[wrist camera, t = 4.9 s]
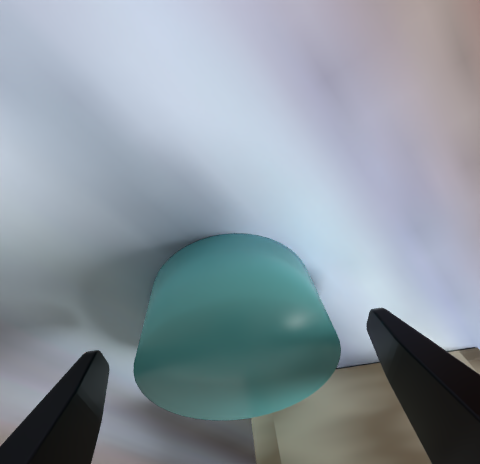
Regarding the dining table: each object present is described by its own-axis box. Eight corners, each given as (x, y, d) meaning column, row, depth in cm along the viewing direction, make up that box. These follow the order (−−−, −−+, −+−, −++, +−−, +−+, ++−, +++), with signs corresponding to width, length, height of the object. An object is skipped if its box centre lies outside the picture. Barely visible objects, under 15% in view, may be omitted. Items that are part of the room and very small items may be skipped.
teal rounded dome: (311, 219, 9) (353, 282, 6) (306, 333, 12) (331, 405, 10) (130, 244, 9) (98, 319, 6) (173, 353, 12) (164, 431, 9)
